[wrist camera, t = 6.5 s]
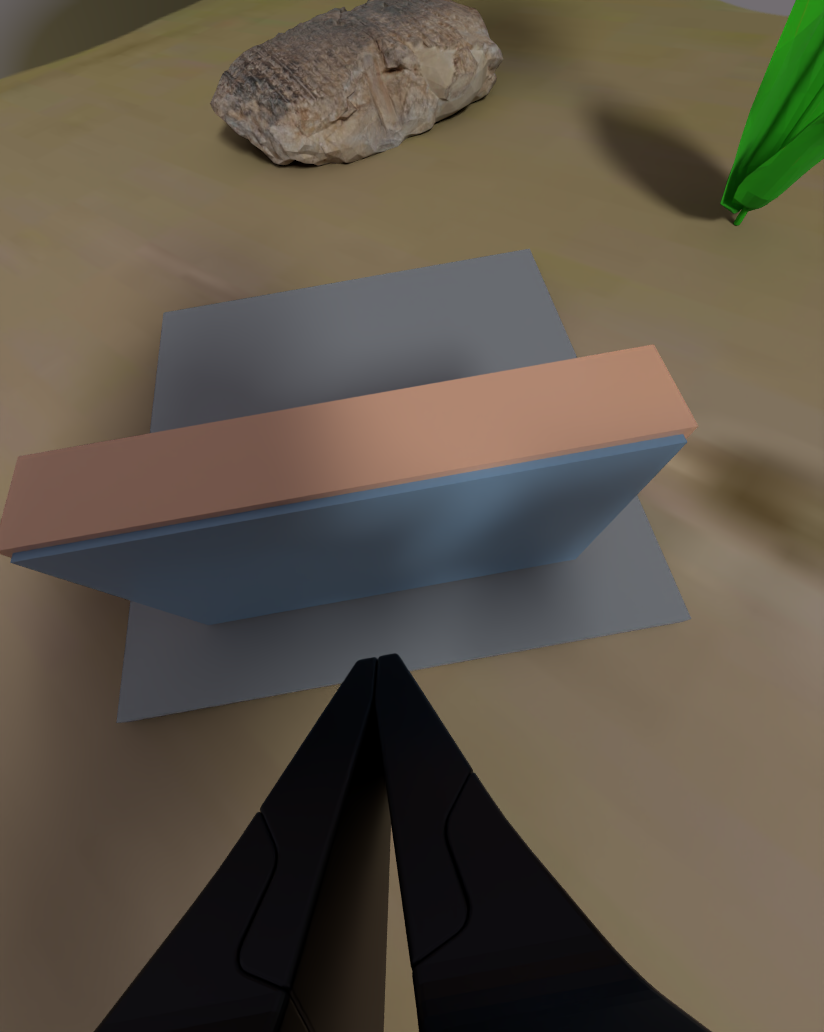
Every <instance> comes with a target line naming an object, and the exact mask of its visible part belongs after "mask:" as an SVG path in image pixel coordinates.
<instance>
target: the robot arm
mask: <svg viewBox="0 0 824 1032" xmlns="http://www.w3.org/2000/svg"><path fill="white" fill-rule="evenodd" d="M260 811H261V812H257V813H256V815H255V816H254V818H253V819H252V821H251V822H250V824H249V825H248V827H247V828H246V830H245V831H244V833H243V834H242V836H241V837H240V839H239V840H238V842H237V843H236V844H235V846H234V847H233V849H232V850H231V852H230V853H229V855H228V856H227V858H226V859H225V860H224V862H223V863H222V865H221V866H220V868H219V869H218V871H217V872H216V873H215V875H214V876H213V877H212V879H211V880H210V881H209V883H208V884H207V885H206V887H205V888H204V889H203V891H202V892H201V893H200V895H199V896H198V897H197V899H196V900H195V901H194V903H193V904H192V905H191V907H190V908H189V909H188V911H187V912H186V913H185V915H184V916H183V917H182V919H181V920H180V921H179V922H178V924H177V925H176V926H175V928H174V929H173V930H172V931H171V933H170V934H169V935H168V937H167V938H166V939H165V941H164V942H163V943H162V944H161V946H160V947H159V948H158V950H157V951H156V952H155V953H154V955H153V956H152V957H151V959H150V960H149V961H148V963H147V964H146V965H145V966H144V968H143V969H142V970H141V972H140V973H139V974H138V975H137V977H136V978H135V979H134V981H133V982H132V983H131V984H130V986H129V987H128V988H127V990H126V991H125V992H124V994H123V995H122V996H121V997H120V999H119V1000H118V1001H117V1003H116V1004H115V1005H114V1006H113V1008H112V1009H111V1010H110V1012H109V1013H108V1014H107V1016H106V1017H105V1018H104V1019H103V1021H102V1022H101V1023H100V1025H99V1026H98V1027H97V1028H96V1029H95V1031H94V1032H384V1004H385V976H386V948H387V920H388V892H389V864H390V835H391V826H392V833H393V841H394V848H395V855H396V862H397V869H398V877H399V884H400V891H401V898H402V905H403V913H404V920H405V927H406V934H407V941H408V949H409V956H410V963H411V968H412V971H413V972H412V977H413V985H414V992H415V1000H416V1008H417V1017H418V1026H419V1032H711V1031H710V1030H709V1029H707V1028H706V1027H705V1026H703V1025H702V1024H701V1023H699V1022H698V1021H697V1020H695V1019H694V1018H693V1017H691V1016H690V1015H689V1014H687V1013H686V1012H685V1011H683V1010H682V1009H681V1008H679V1007H678V1006H677V1005H675V1004H674V1003H673V1002H671V1001H670V1000H669V999H668V998H666V997H665V996H664V995H663V994H661V993H660V992H659V991H657V990H656V989H655V988H654V987H653V986H652V985H651V984H649V983H648V982H647V981H646V980H645V979H644V978H643V977H642V976H641V975H640V974H639V973H638V972H637V971H636V970H635V969H634V968H633V967H632V966H631V965H630V964H629V963H628V962H627V961H626V960H625V959H624V958H623V957H622V956H621V955H620V954H619V953H618V952H617V951H616V950H615V948H614V947H613V946H612V945H611V944H610V943H609V942H608V941H607V939H606V938H605V937H604V936H603V935H602V934H601V933H600V931H599V930H598V929H597V928H596V927H595V925H594V924H593V923H592V922H591V921H590V920H589V918H588V917H587V916H586V915H585V914H584V912H583V911H582V910H581V909H580V908H579V906H578V905H577V904H576V903H575V902H574V901H573V899H572V898H571V897H570V896H569V895H568V893H567V892H566V891H565V890H564V889H563V887H562V886H561V885H560V884H559V883H558V882H557V880H556V879H555V878H554V877H553V876H552V874H551V873H550V872H549V871H548V870H547V868H546V867H545V866H544V865H543V864H542V863H541V861H540V860H539V859H538V858H537V857H536V855H535V854H534V853H533V852H532V851H531V849H530V848H529V847H528V846H527V844H526V843H525V842H524V841H523V839H522V838H521V837H520V836H519V834H518V833H517V832H516V831H515V829H514V828H513V827H512V825H511V824H510V823H509V822H508V820H507V819H506V818H505V816H504V815H503V813H502V812H501V811H500V809H499V808H498V806H497V805H496V803H495V802H494V801H493V799H492V798H491V796H490V795H489V793H488V792H487V790H486V789H485V787H484V786H483V784H482V783H481V781H480V780H479V778H478V777H477V775H476V774H475V773H473V769H472V768H471V766H470V765H469V763H468V761H467V760H466V758H465V757H464V755H463V754H462V752H461V751H460V749H459V747H458V746H457V744H456V743H455V741H454V740H453V738H452V737H451V735H450V734H449V732H448V730H447V729H446V727H445V726H444V724H443V723H442V721H441V720H440V718H439V716H438V715H437V713H436V712H435V710H434V709H433V707H432V706H431V704H430V702H429V701H428V699H427V698H426V696H425V695H424V693H423V692H422V690H421V689H420V687H419V685H418V684H417V682H416V681H415V679H414V678H413V676H412V675H411V673H410V671H409V670H408V668H407V667H406V665H405V664H404V662H403V661H402V659H401V658H400V656H399V655H398V654H397V653H393V654H388V655H382V656H380V657H379V658H378V659H377V658H376V657H371V658H366V659H360V660H358V661H357V662H356V663H355V664H354V666H353V667H352V669H351V670H350V672H349V673H348V675H347V676H346V678H345V679H344V681H343V683H342V684H341V686H340V687H339V689H338V690H337V692H336V693H335V695H334V696H333V698H332V699H331V701H330V702H329V704H328V705H327V707H326V708H325V710H324V711H323V713H322V714H321V716H320V717H319V719H318V721H317V722H316V724H315V725H314V727H313V728H312V730H311V731H310V733H309V734H308V736H307V737H306V739H305V740H304V742H303V743H302V745H301V746H300V748H299V749H298V751H297V752H296V754H295V756H294V757H293V759H292V760H291V762H290V763H289V765H288V766H287V768H286V769H285V771H284V772H283V774H282V775H281V777H280V778H279V780H278V781H277V783H276V784H275V786H274V787H273V789H272V791H271V792H270V794H269V795H268V797H267V798H266V800H265V801H264V803H263V804H262V806H261V807H260Z"/></svg>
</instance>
